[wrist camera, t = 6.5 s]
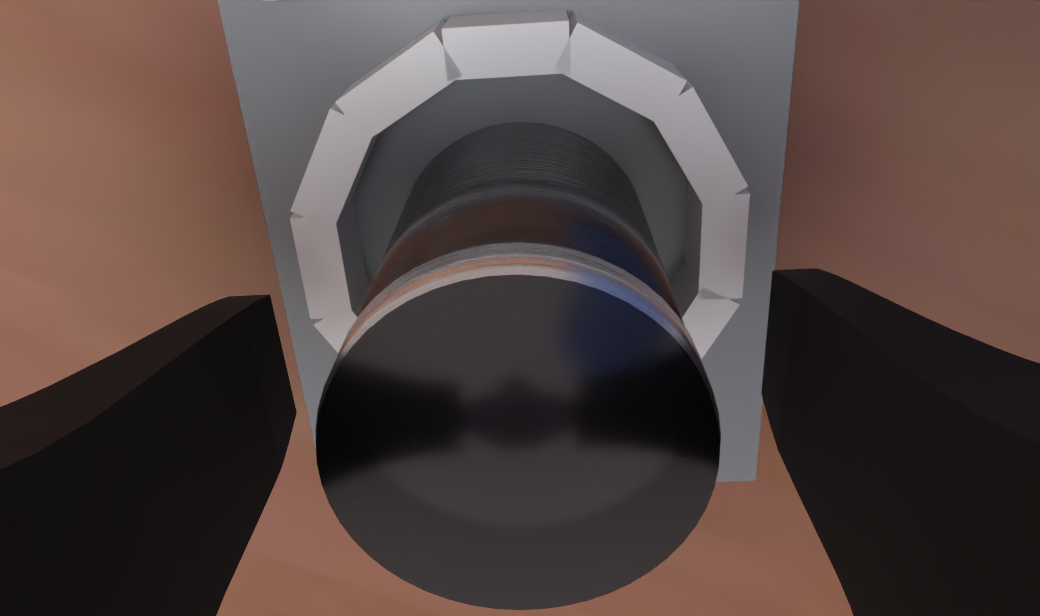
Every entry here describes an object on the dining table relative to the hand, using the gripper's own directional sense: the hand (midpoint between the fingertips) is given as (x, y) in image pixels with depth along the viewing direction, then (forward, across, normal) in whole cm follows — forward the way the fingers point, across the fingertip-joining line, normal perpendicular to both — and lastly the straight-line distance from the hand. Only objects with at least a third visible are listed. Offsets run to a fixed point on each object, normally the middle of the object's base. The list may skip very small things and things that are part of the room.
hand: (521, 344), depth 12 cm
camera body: (+7, 0, 0) cm, 7 cm away
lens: (+5, 0, 0) cm, 5 cm away
